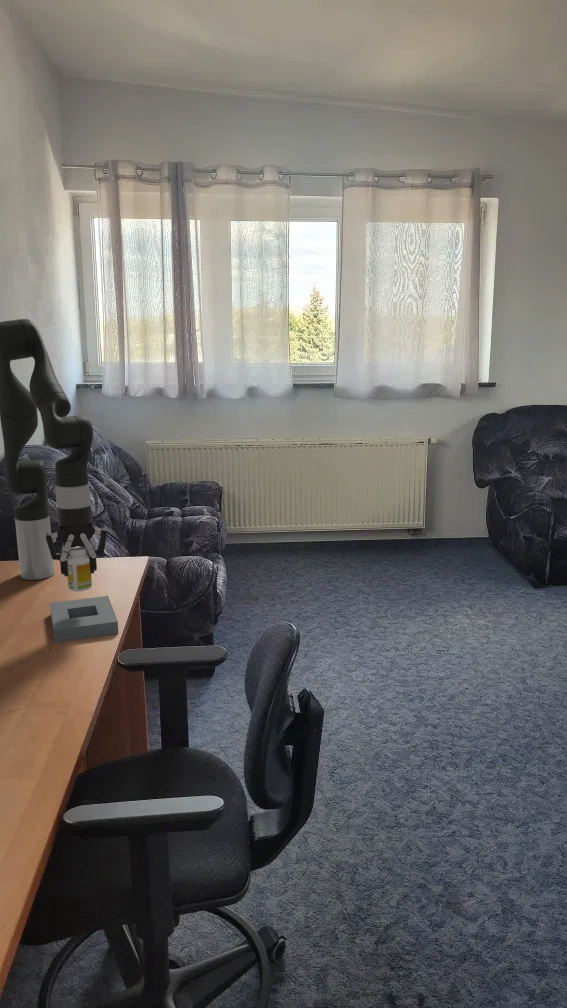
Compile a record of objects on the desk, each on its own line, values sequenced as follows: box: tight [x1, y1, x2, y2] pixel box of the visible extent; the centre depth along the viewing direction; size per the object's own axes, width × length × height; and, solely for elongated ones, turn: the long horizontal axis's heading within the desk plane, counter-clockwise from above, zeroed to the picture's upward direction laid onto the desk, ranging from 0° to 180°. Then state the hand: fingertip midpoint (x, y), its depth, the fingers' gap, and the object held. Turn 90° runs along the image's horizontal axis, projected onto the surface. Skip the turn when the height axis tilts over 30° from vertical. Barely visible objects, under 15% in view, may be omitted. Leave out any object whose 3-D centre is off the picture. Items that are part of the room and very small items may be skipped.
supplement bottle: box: [66, 546, 93, 592], centre depth 168 cm, size 5×5×10 cm
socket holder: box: [49, 595, 119, 644], centre depth 171 cm, size 18×14×3 cm
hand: (79, 573), depth 169 cm, fingers closed on supplement bottle, 5 cm apart
